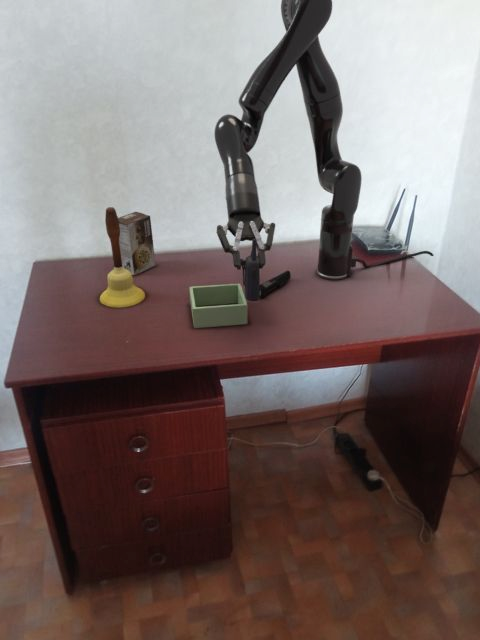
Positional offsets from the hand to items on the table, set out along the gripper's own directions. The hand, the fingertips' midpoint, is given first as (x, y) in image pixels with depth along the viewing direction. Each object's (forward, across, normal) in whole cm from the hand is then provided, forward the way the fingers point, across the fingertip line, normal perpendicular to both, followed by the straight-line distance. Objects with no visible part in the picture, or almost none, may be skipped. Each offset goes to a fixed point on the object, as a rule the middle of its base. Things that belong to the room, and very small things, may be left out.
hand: (250, 267), depth 124 cm
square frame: (+4, -6, +23) cm, 24 cm away
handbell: (-6, -31, +33) cm, 46 cm away
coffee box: (-19, -27, +46) cm, 57 cm away
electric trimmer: (-5, +10, +32) cm, 34 cm away
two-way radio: (+5, 0, +6) cm, 8 cm away
